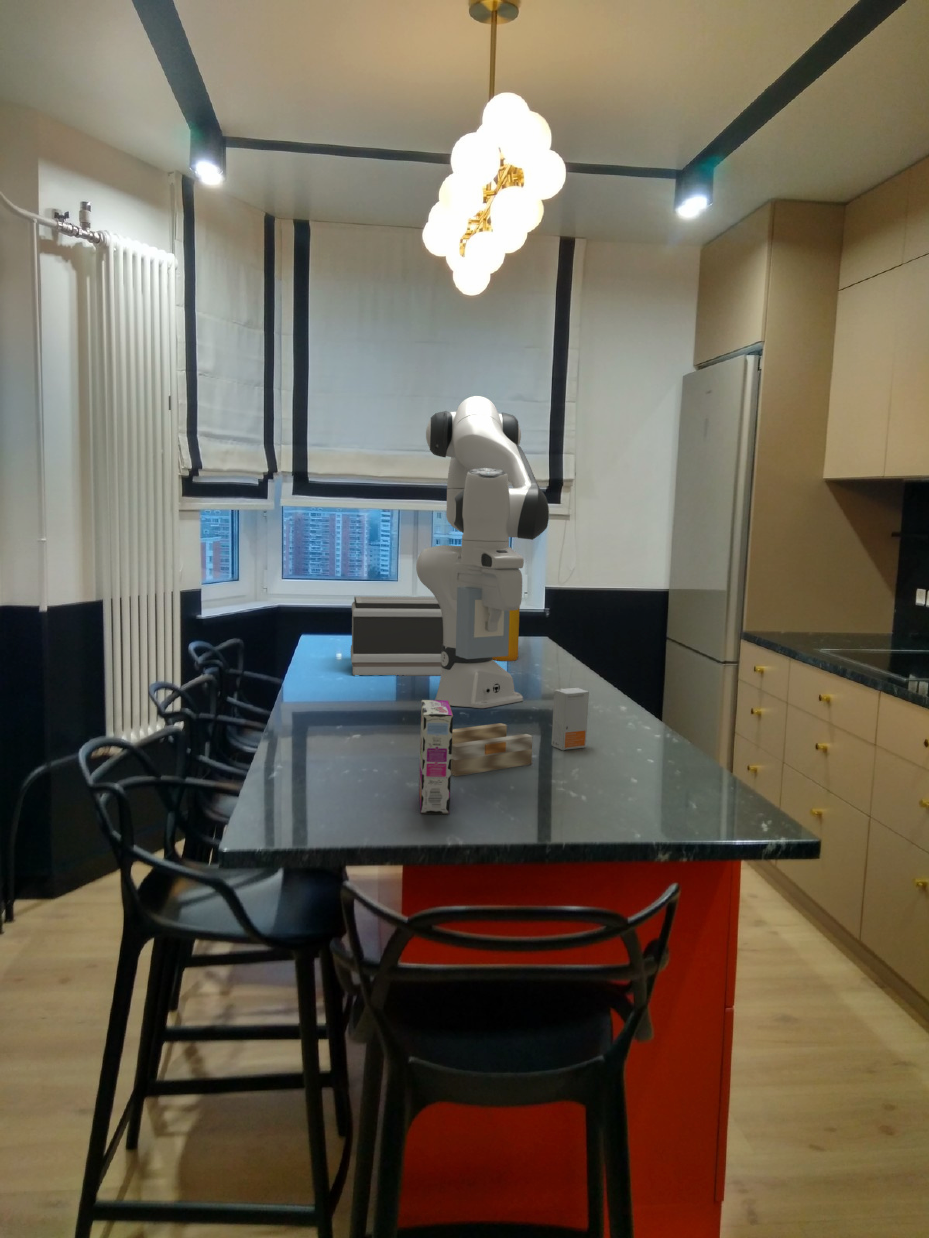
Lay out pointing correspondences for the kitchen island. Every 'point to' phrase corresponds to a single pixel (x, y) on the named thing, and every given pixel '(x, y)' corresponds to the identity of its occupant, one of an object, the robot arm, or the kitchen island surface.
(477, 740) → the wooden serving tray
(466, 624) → the box
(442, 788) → the candy bar box
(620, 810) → the kitchen island surface
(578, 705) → the skincare box
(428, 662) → the toaster
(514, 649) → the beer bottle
